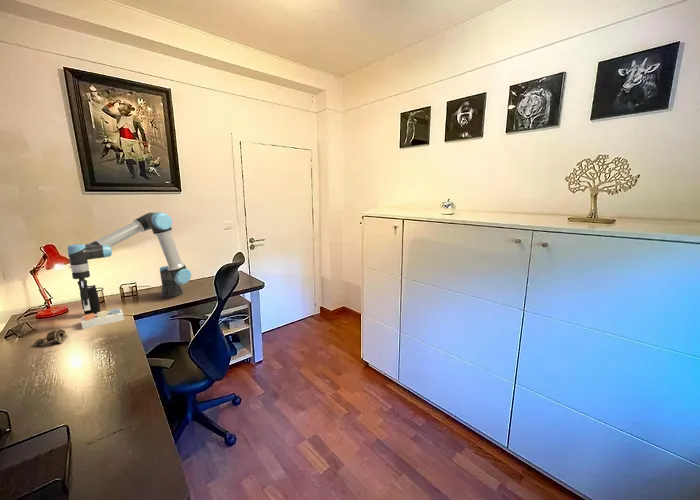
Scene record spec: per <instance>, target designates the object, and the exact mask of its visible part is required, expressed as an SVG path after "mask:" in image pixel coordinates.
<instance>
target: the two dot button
mask: <svg viewBox="0 0 700 500" xmlns="http://www.w3.org/2000/svg"><path fill="white" fill-rule="evenodd" d="M107 312H108V310H100V312H97V315H98V317H103V316H107Z"/></svg>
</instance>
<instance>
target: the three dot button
mask: <svg viewBox="0 0 700 500" xmlns="http://www.w3.org/2000/svg"><path fill="white" fill-rule="evenodd" d="M83 317H84V320H89V319H93V318H95V316H94V313H91V314H86V315H85V314H84V315H83Z"/></svg>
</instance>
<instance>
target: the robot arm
mask: <svg viewBox="0 0 700 500" xmlns="http://www.w3.org/2000/svg"><path fill="white" fill-rule="evenodd" d="M172 219H173V218H172V217H171V216H170V215H169V214H167V213H166V212H160V211H158V212H157V211H155V212H147V213H145V214H143V215H141V216H139V217H137V218H136V219H133V220H132V222H130V223H129V224H127V225H125V226H123V227H121V228H119V229H117V230H115V231H112V232H111V233H108V234H107V235H104V236H103V237H100V238H99V239H96V240H94V241H92V242H90V243H86V244H84V243H78V244H70V245H68V246H67V255H68V260H69V264H70V266H69V267H68V268H69V269H70V271H71V272H72V273H71V275H72V276H71V277H72V279H73V280H78V281H77V285H78V288H79V291H80V290H81V295H82V299H81V298H80V301H82V300H83V306H84V310H83V312H84V311H87V310H90V304H89V299H88V298H90V297H88V293H87V286H88V280H87V278H90V277H91V273H90V267H89V261H88V260H94V259H95V260H96V259H105V258H109V257H112V255H113V250H112V247H114V246H115V245H117V244H119V243H122V242H124V241H125V240H127V239H129V238H131V237H134V236H135V235H137V234H139V233H144V232H146V231H149V230H151V231H152V234H153V235H156V236H157V237H156V238H157V240H158V241H159V245H160V247H161V249H162V253H163V254H164V257H165V260H166V263H167V265H164V266H161V267H160V268H159V273H160V280H161V281H160V282H161V291H160V297H161V298H174V297H178V296H181V295H183V294H184V290H183V288H182V287H183V286H181V285H185V284H188V282H190V280H191V279H192V272H191V270H189V269H188V268H187V267H186V264H185V263H184V262H182V259H181V256H180V255H179V250H178V249H177V246H176V244H175V240H174V238H173V234H172V233H171V232H172V230H173V229H172V225H173V220H172ZM83 306H82V307H83Z"/></svg>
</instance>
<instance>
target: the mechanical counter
mask: <svg viewBox="0 0 700 500" xmlns="http://www.w3.org/2000/svg"><path fill="white" fill-rule="evenodd" d="M68 338H69V335H68V334H67V333H66V330H63V329H61V328H59V329H56V330H53V331H50V332H48V333H47V334H46V337H44V338H39V339H37V340H36V341H34V346H35V347H38V346H44V345H48V344H50V345H55V344H57V343H59V345H61V344H63V343H64V342H65V341H66V339H68Z"/></svg>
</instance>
